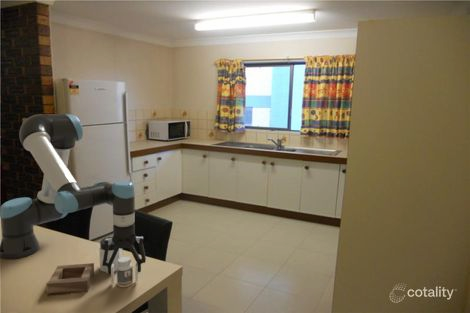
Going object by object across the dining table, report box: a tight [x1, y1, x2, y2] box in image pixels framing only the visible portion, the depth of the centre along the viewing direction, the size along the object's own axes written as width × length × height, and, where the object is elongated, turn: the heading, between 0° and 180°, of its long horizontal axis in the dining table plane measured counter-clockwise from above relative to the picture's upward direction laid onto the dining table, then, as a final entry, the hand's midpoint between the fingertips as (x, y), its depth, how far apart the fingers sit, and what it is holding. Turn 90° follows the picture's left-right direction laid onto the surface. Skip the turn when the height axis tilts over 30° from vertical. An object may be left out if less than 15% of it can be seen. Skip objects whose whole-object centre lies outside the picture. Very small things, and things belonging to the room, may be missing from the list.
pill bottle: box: [116, 256, 134, 288], centre depth 122 cm, size 6×6×10 cm
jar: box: [98, 236, 123, 274], centre depth 133 cm, size 9×8×12 cm
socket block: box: [46, 262, 95, 297], centre depth 121 cm, size 13×13×4 cm
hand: (124, 280), depth 123 cm, fingers open, 8 cm apart
